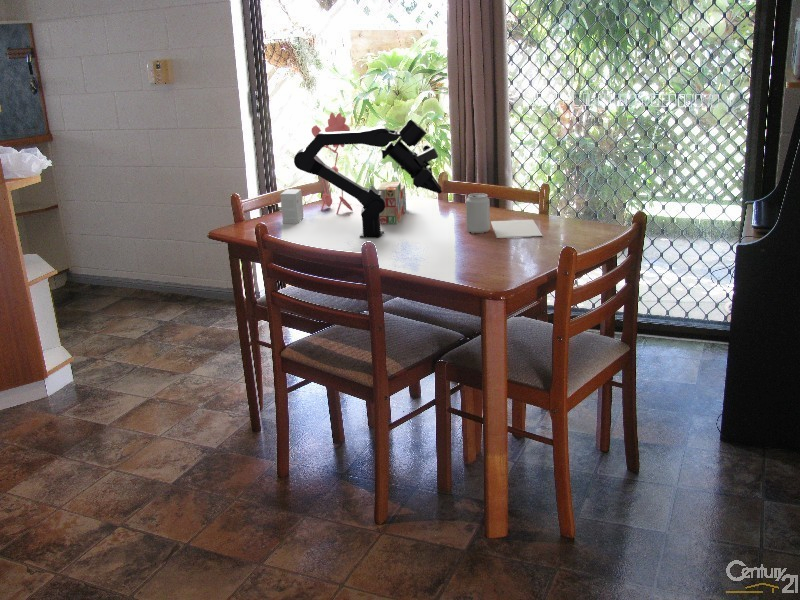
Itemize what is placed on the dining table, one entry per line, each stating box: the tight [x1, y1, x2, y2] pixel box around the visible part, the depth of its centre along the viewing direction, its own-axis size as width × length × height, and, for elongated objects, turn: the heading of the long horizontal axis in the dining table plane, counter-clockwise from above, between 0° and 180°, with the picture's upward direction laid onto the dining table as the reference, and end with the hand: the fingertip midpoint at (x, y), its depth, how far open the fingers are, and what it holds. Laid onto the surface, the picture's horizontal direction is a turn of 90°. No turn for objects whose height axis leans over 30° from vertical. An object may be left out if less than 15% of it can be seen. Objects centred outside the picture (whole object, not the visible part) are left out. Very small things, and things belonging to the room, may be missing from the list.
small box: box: [279, 188, 304, 224], centre depth 282 cm, size 8×6×10 cm
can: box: [465, 192, 491, 234], centre depth 257 cm, size 8×8×12 cm
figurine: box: [311, 112, 363, 217], centre depth 292 cm, size 15×26×35 cm, turn 43°
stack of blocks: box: [376, 181, 407, 225], centre depth 281 cm, size 21×6×12 cm, turn 171°
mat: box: [490, 219, 543, 239], centre depth 259 cm, size 14×20×1 cm
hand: (440, 191), depth 255 cm, fingers open, 4 cm apart
